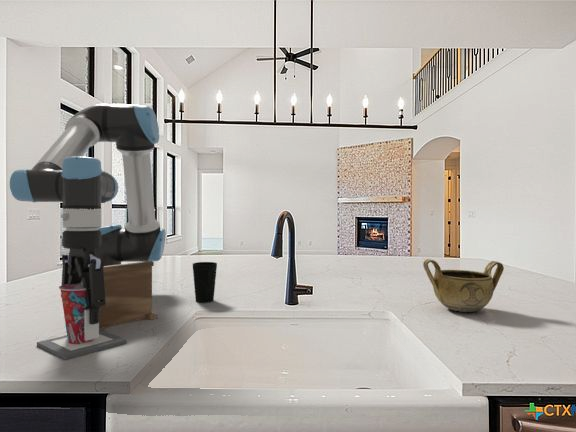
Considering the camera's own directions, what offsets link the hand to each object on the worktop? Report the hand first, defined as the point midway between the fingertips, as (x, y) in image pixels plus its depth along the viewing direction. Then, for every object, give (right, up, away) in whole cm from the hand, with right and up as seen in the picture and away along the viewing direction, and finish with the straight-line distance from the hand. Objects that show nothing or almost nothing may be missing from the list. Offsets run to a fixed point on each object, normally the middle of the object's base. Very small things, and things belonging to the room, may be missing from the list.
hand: (82, 334), depth 90 cm
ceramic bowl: (+96, -2, +34) cm, 102 cm away
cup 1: (0, -1, 0) cm, 1 cm away
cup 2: (+18, -2, +43) cm, 47 cm away
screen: (+1, -2, +17) cm, 17 cm away
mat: (0, -2, 0) cm, 2 cm away
